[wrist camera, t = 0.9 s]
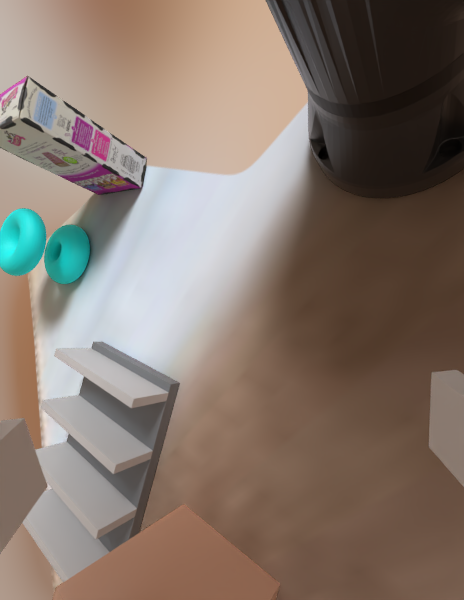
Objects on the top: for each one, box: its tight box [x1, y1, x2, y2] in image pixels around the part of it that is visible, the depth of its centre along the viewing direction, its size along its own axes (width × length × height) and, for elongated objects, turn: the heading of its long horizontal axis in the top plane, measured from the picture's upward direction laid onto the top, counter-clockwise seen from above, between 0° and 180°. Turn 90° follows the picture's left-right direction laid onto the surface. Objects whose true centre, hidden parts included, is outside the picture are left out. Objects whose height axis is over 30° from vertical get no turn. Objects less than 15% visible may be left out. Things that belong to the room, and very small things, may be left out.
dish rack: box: [22, 342, 180, 582], centre depth 38 cm, size 24×16×6 cm, turn 162°
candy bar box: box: [0, 76, 147, 195], centre depth 41 cm, size 11×5×16 cm, turn 80°
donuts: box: [0, 208, 90, 284], centre depth 48 cm, size 10×10×10 cm
